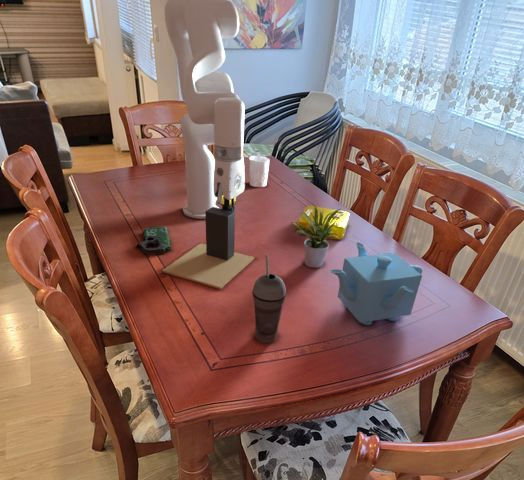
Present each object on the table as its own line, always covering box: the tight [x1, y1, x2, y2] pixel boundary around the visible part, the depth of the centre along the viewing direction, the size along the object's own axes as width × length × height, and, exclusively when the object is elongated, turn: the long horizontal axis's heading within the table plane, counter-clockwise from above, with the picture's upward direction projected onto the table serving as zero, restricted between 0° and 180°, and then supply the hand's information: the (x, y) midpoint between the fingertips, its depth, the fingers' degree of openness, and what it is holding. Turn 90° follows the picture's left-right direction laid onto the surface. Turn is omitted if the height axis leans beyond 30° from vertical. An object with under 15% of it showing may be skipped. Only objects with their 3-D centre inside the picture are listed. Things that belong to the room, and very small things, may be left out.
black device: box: [205, 207, 236, 261], centre depth 131 cm, size 4×7×13 cm, turn 65°
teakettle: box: [329, 242, 423, 326], centre depth 112 cm, size 19×19×15 cm
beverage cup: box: [251, 253, 287, 344], centre depth 99 cm, size 7×7×20 cm
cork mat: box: [162, 242, 255, 290], centre depth 131 cm, size 20×18×1 cm
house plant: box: [290, 204, 342, 269], centre depth 131 cm, size 14×14×16 cm
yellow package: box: [297, 205, 350, 241], centre depth 154 cm, size 15×15×5 cm
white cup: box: [248, 155, 270, 188], centre depth 184 cm, size 8×8×10 cm
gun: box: [135, 225, 172, 255], centre depth 140 cm, size 16×1×10 cm
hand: (228, 219), depth 132 cm, fingers closed
